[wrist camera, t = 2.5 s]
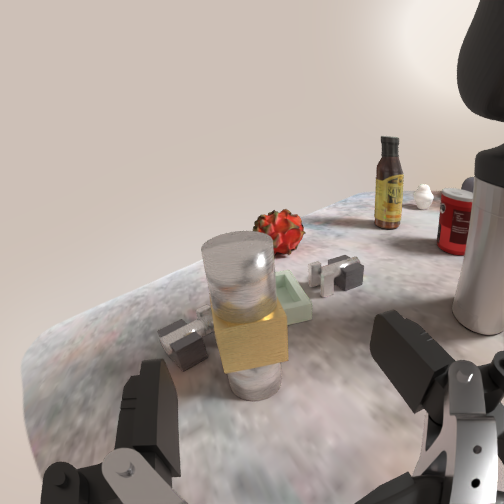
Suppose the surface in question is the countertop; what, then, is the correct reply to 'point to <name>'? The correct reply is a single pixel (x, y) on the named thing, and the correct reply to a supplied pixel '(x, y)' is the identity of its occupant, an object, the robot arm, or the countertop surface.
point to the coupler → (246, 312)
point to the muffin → (423, 197)
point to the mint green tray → (292, 298)
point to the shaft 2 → (336, 274)
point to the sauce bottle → (389, 185)
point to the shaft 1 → (188, 339)
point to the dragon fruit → (281, 230)
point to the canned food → (454, 220)
